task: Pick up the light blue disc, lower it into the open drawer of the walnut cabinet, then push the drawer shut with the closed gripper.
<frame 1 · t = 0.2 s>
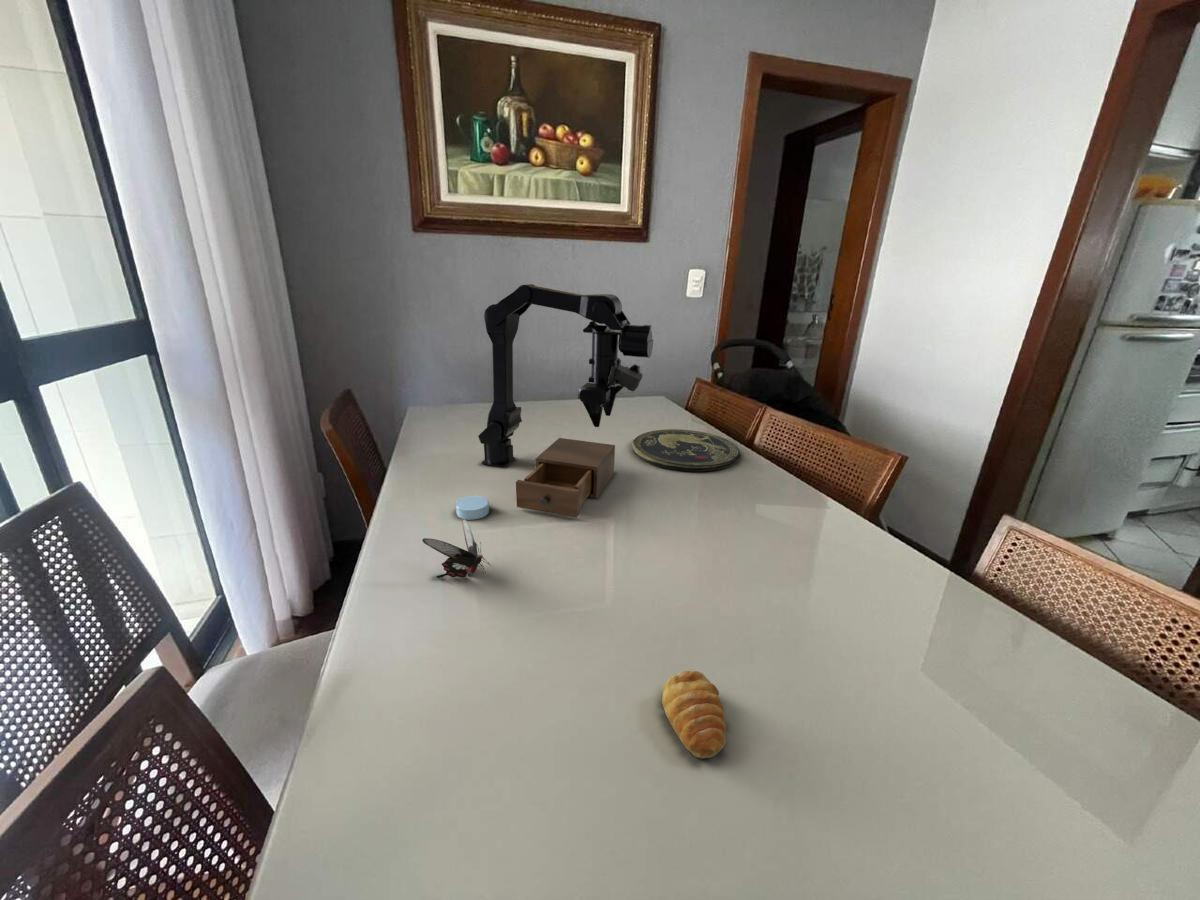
hand: (602, 421, 113), 15 cm above the table, tool pointing down, fingers open, 9 cm apart
light blue disc: (473, 512, 101), on the table
butterfly: (459, 581, 80), on the table
drawer: (557, 487, 104), point 4 cm above the table, slide at 10.0 cm
cabinet: (576, 480, 117), on the table
decorative plate: (684, 452, 137), on the table
pastry: (695, 719, 57), on the table
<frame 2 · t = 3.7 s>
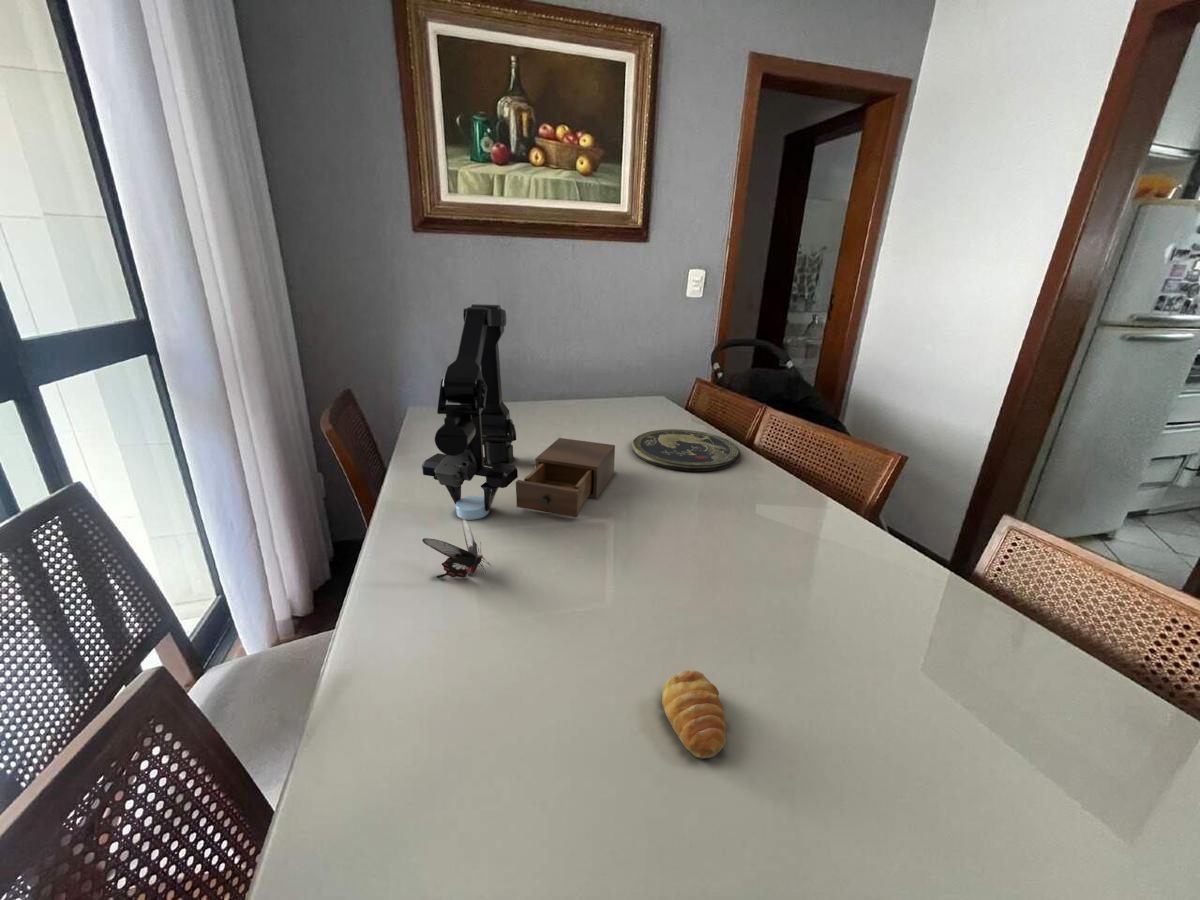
hand: (472, 507, 101), 1 cm above the table, tool pointing down, fingers closed on light blue disc, 6 cm apart
light blue disc: (473, 512, 101), on the table, touching gripper
everything else where it was.
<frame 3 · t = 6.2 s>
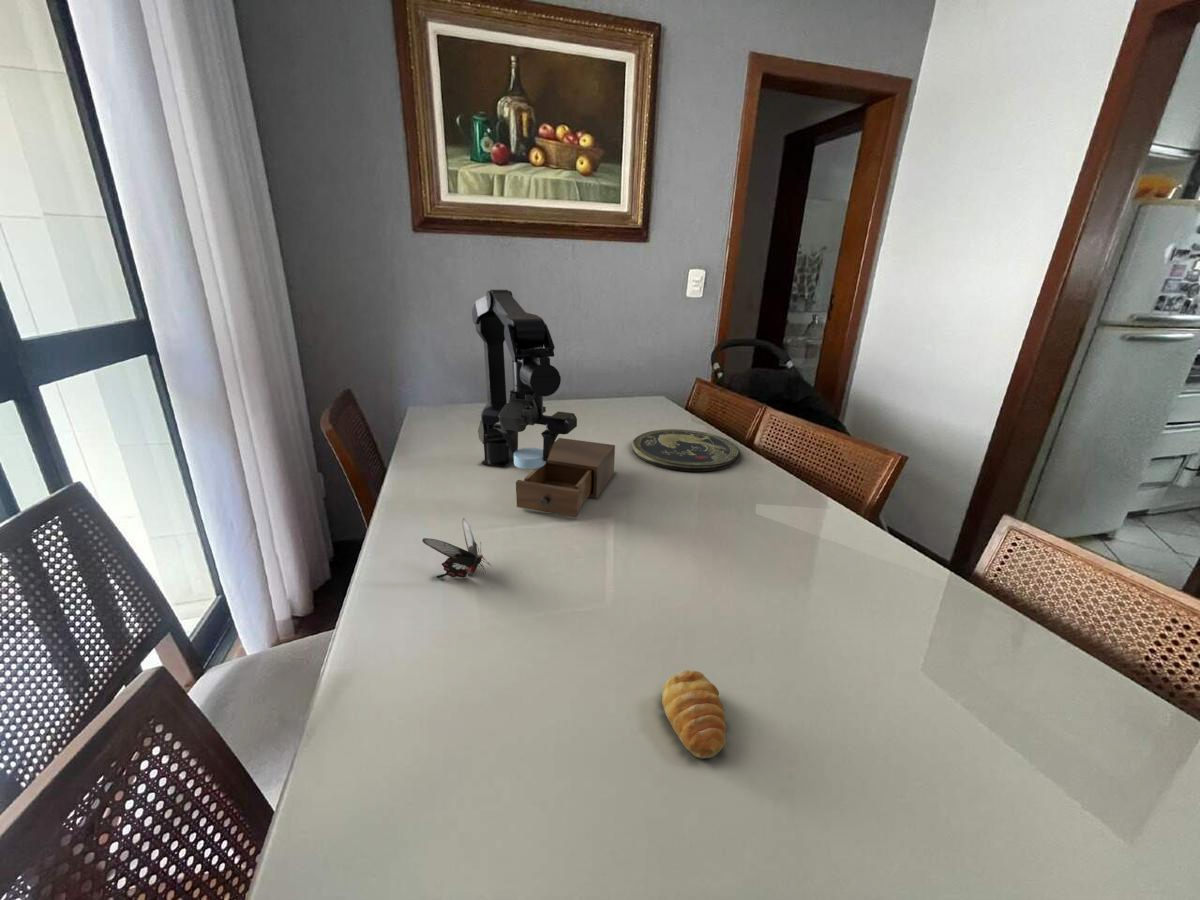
hand: (530, 458, 100), 11 cm above the table, tool pointing down, fingers closed on light blue disc, 6 cm apart
light blue disc: (530, 462, 101), point 10 cm above the table, touching gripper
everything else where it was.
when the fingers open (5 cm above the table, at t = 9.1 s): light blue disc stays where it is, resting on drawer.
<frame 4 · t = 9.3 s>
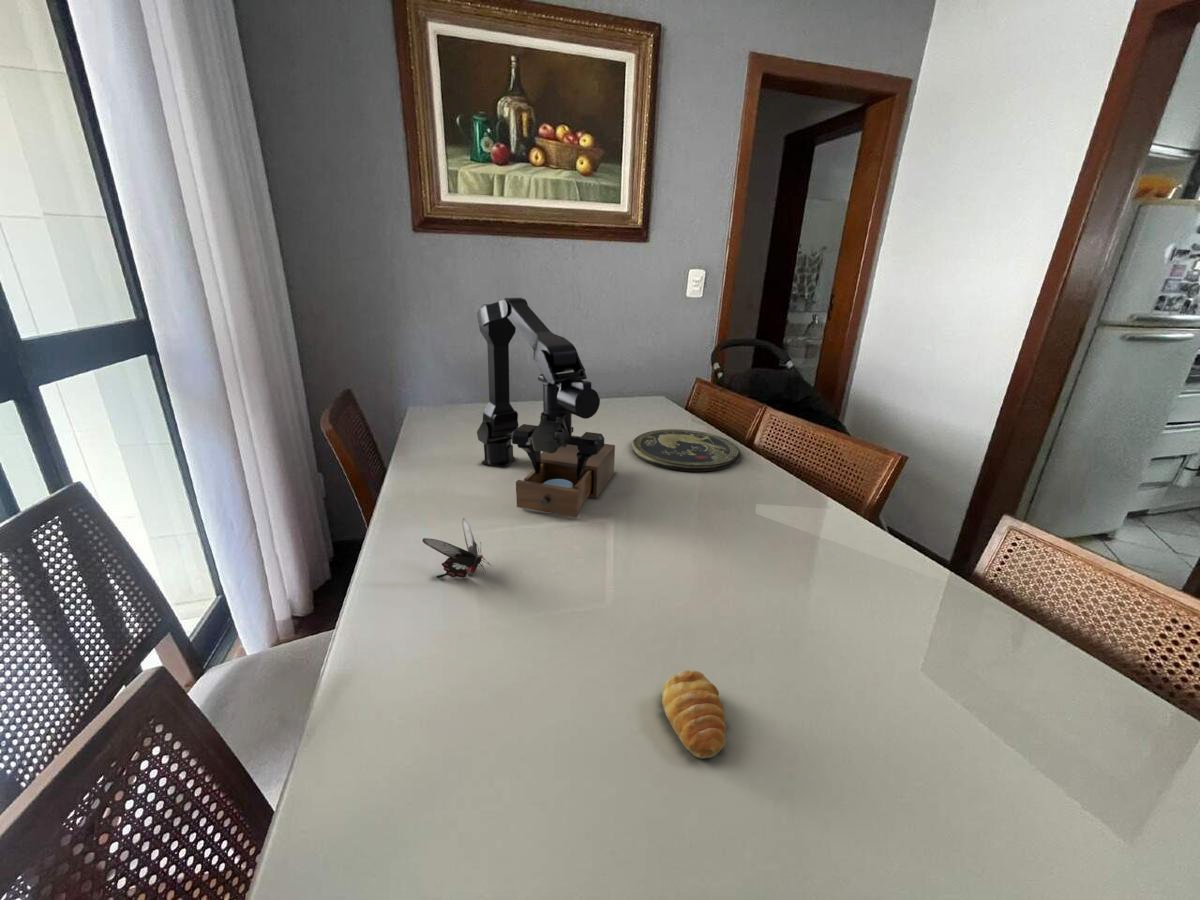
hand: (558, 476, 104), 6 cm above the table, tool pointing down, fingers open, 9 cm apart
light blue disc: (557, 494, 105), point 2 cm above the table, touching drawer
drawer: (557, 487, 104), point 4 cm above the table, slide at 10.0 cm, touching light blue disc
everything else where it was.
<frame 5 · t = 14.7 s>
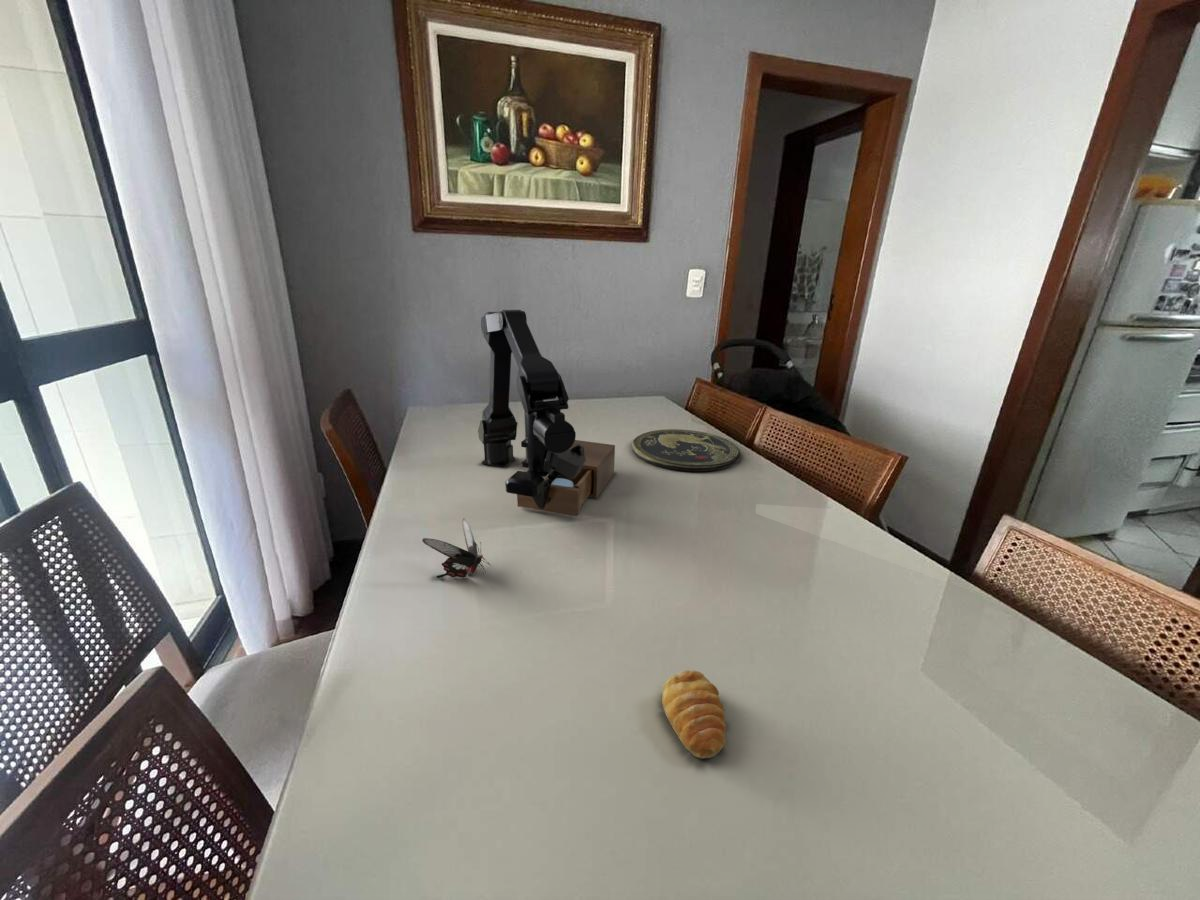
hand: (541, 508, 97), 3 cm above the table, tool pointing down, fingers closed
drawer: (558, 486, 105), point 4 cm above the table, slide at 9.6 cm, touching light blue disc, gripper
everything else where it was.
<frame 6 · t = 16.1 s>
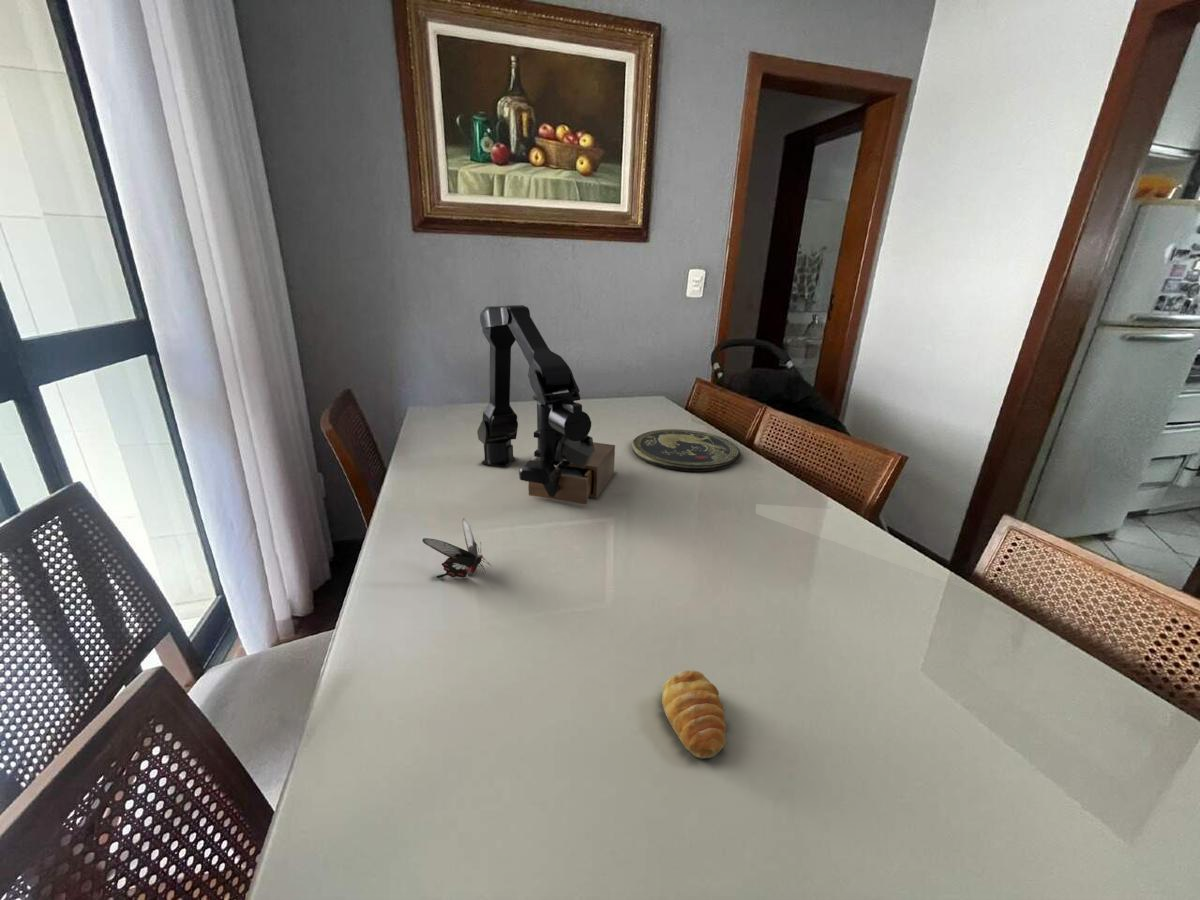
hand: (552, 496, 102), 3 cm above the table, tool pointing down, fingers closed
light blue disc: (567, 483, 110), point 2 cm above the table, touching drawer
drawer: (567, 476, 110), point 4 cm above the table, slide at 4.1 cm, touching light blue disc, gripper
everything else where it was.
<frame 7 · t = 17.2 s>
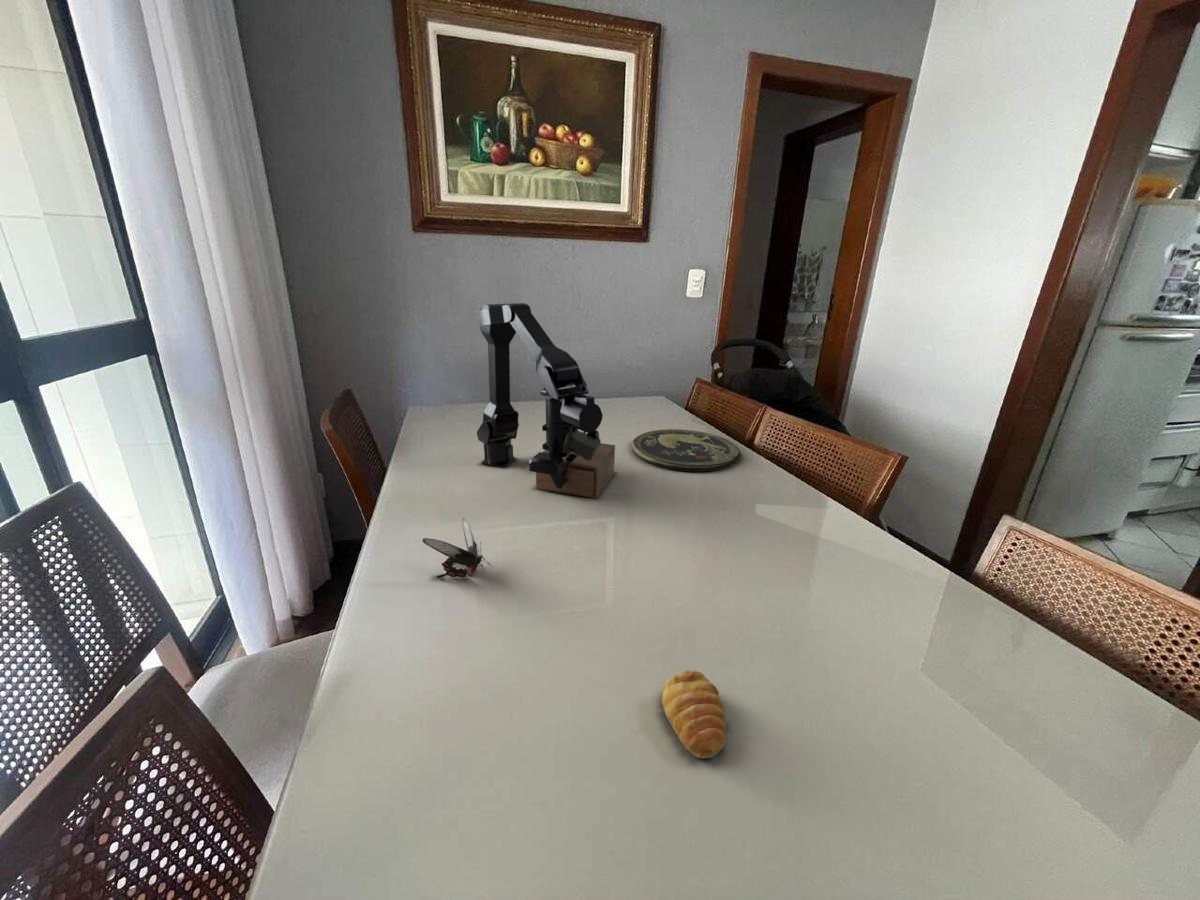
hand: (559, 488, 106), 3 cm above the table, tool pointing down, fingers closed
light blue disc: (573, 476, 114), point 2 cm above the table, touching drawer
drawer: (573, 469, 113), point 4 cm above the table, slide at 0.0 cm, touching cabinet, light blue disc, gripper
everything else where it was.
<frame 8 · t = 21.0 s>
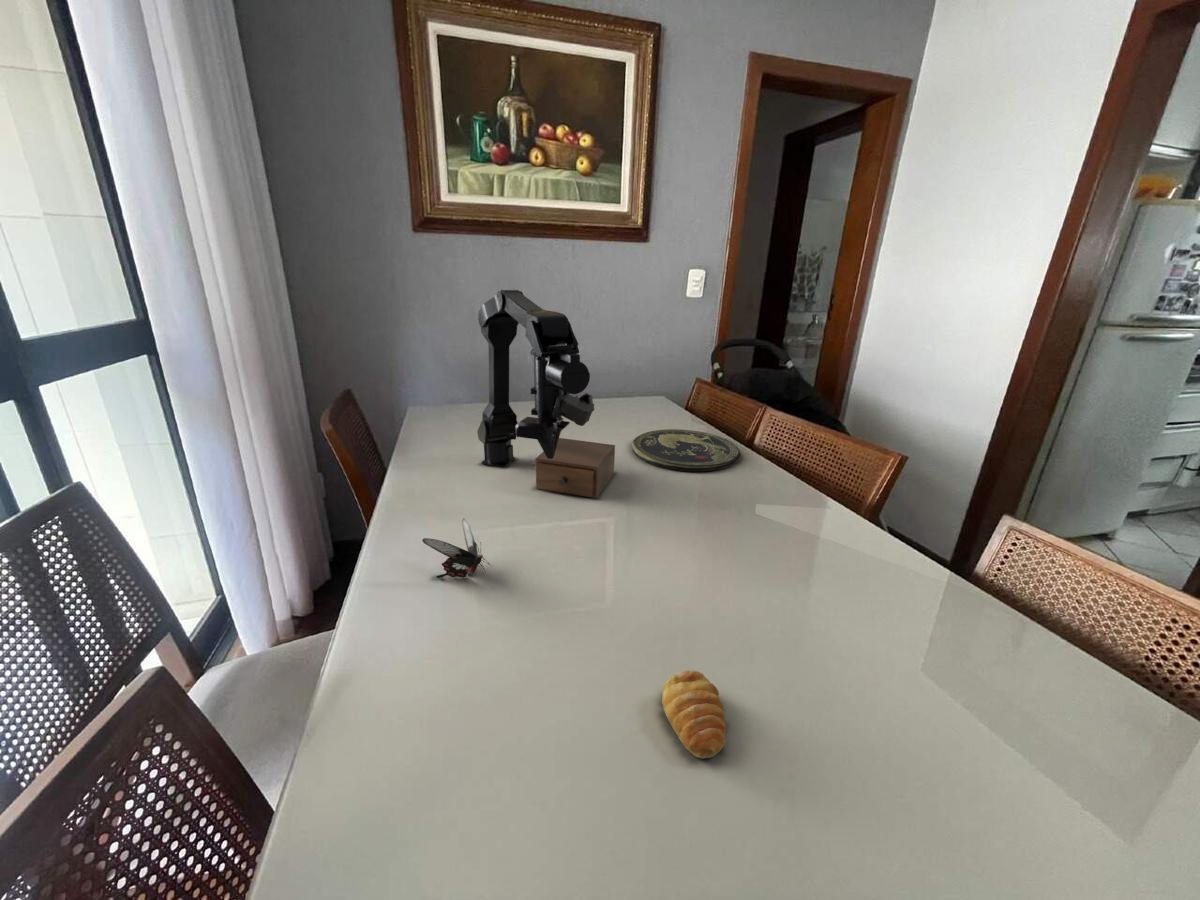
hand: (550, 458, 98), 12 cm above the table, tool pointing down, fingers closed
drawer: (573, 469, 113), point 4 cm above the table, slide at 0.0 cm, touching light blue disc
everything else where it was.
at the end: light blue disc inside the target area in the cabinet (2.0 cm from its centre), point 2.0 cm above the cabinet's base; light blue disc tilted 0°; drawer slide at 0.0 cm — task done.
